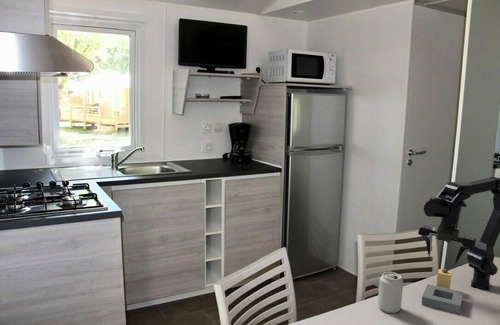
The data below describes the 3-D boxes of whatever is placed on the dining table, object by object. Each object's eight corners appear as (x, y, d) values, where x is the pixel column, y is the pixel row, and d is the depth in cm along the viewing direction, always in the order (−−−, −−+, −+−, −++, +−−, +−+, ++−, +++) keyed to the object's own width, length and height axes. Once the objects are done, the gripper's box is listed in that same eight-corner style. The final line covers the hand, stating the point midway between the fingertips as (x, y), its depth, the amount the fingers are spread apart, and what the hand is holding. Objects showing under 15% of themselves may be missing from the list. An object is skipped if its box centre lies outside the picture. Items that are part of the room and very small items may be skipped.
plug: (437, 286, 168) (439, 266, 166) (449, 289, 166) (452, 268, 164) (435, 290, 164) (437, 270, 163) (448, 293, 162) (451, 273, 161)
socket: (426, 291, 163) (427, 283, 162) (462, 299, 157) (463, 292, 157) (421, 304, 153) (422, 296, 152) (459, 314, 147) (460, 305, 146)
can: (402, 315, 145) (405, 281, 143) (378, 312, 146) (381, 278, 144) (399, 304, 152) (402, 271, 150) (376, 302, 154) (379, 269, 152)
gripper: (418, 214, 157) (410, 256, 159) (476, 228, 147) (467, 272, 149) (425, 210, 166) (417, 250, 168) (480, 223, 156) (471, 265, 158)
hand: (442, 259), depth 161 cm, fingers open, 9 cm apart
